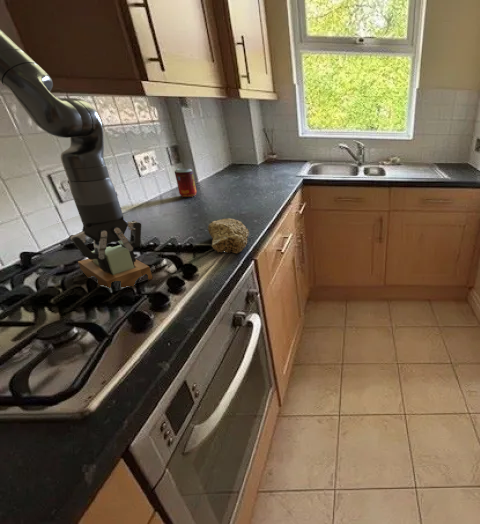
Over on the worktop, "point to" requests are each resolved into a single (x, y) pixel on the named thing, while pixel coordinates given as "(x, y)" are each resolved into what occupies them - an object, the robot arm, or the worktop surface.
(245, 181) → the worktop surface
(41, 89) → the robot arm
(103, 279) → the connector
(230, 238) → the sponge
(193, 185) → the soda can
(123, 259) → the pale green block
